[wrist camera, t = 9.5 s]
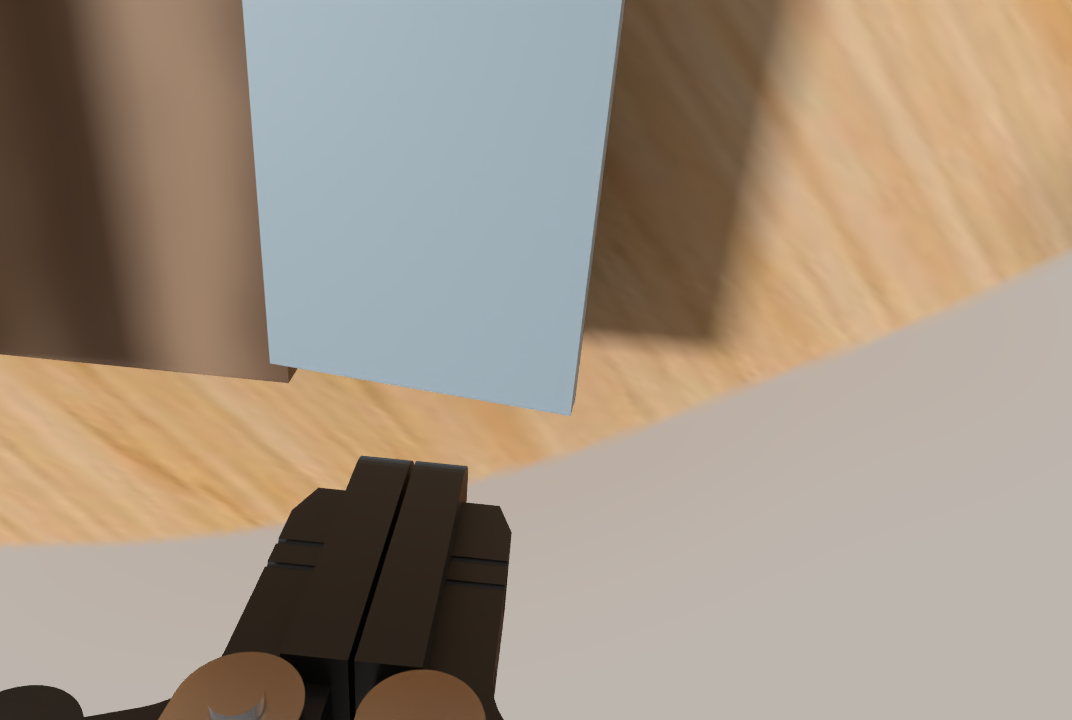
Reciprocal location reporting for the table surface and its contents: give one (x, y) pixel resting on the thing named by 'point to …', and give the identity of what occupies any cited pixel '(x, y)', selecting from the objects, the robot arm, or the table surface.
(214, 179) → the brown wooden l-shaped piece
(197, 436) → the table surface
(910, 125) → the table surface
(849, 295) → the table surface
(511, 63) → the light blue flat panel
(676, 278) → the table surface
